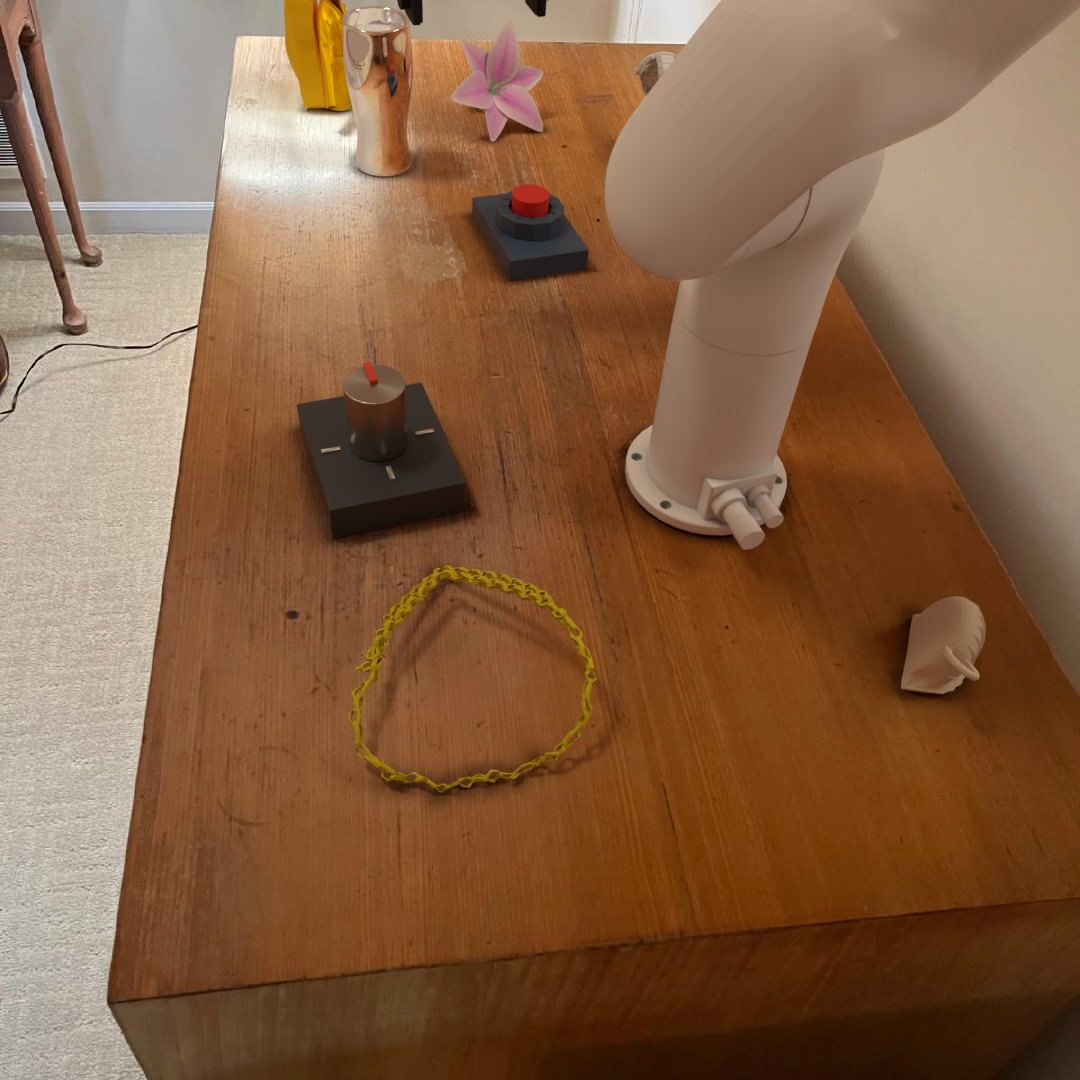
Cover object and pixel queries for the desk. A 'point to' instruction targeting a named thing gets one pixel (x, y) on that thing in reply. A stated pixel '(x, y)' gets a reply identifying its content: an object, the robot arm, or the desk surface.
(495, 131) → the lily
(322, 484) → the panel
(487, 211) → the button block
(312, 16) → the yellow foil bag
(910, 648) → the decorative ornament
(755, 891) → the desk surface
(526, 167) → the desk surface
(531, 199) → the button
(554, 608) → the decorative chain
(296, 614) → the desk surface
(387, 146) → the beer glass
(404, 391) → the dial
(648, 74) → the watch
